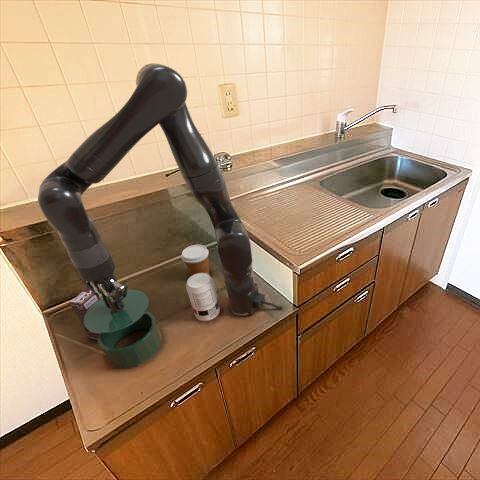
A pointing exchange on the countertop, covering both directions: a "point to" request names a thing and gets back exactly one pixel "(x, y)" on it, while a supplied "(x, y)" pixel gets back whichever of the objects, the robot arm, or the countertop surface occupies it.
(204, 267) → the disposable coffee cup
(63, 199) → the robot arm
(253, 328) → the countertop surface
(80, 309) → the supplement box
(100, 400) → the countertop surface
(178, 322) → the countertop surface
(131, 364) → the pot
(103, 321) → the lid
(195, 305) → the supplement can
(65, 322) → the countertop surface
